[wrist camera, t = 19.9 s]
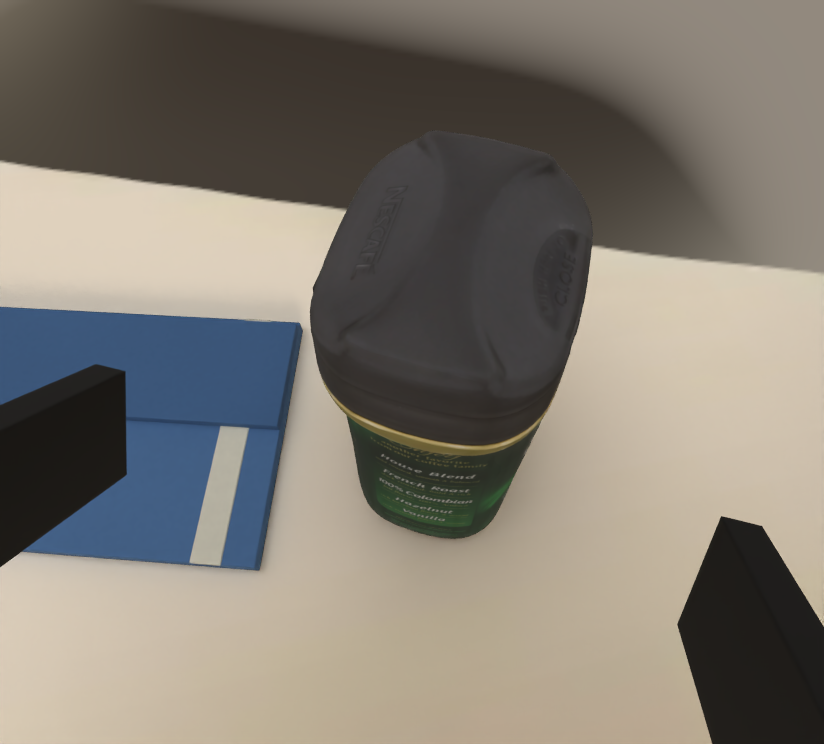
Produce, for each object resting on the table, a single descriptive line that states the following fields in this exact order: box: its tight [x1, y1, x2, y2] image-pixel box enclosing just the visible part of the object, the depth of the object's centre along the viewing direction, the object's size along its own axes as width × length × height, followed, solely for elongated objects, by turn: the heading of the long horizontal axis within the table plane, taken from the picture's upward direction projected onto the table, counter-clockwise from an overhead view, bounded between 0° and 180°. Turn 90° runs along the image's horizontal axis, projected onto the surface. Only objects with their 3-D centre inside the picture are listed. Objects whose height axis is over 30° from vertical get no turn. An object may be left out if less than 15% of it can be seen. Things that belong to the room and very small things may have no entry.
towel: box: [0, 307, 303, 570], centre depth 33 cm, size 26×14×2 cm, turn 86°
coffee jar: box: [310, 131, 593, 539], centre depth 24 cm, size 10×8×19 cm
